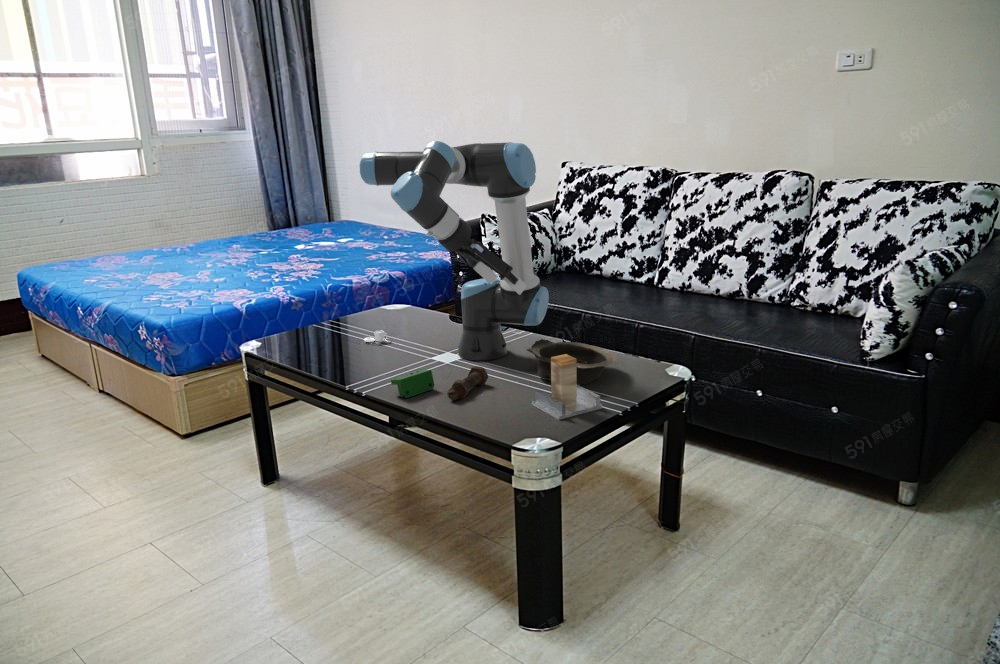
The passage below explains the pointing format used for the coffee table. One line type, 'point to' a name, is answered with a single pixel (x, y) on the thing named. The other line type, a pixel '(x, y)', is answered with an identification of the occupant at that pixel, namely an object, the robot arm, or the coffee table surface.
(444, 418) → the coffee table surface
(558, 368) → the block
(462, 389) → the bolt
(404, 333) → the coffee table surface
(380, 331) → the teacup and saucer
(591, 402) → the keeper bracket
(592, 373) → the stone bowl
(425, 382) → the green notched mounting bracket
